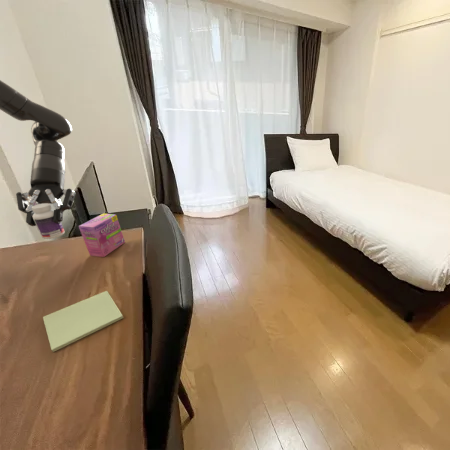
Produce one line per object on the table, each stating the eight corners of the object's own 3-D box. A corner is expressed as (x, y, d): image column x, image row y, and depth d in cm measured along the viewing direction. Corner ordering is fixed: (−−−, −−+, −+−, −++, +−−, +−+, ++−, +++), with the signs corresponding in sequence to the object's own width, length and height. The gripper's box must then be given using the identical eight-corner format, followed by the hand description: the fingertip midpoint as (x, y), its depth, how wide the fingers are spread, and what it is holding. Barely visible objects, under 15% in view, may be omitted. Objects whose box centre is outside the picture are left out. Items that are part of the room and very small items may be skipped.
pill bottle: (68, 233, 83) (56, 204, 79) (47, 241, 79) (32, 210, 75) (60, 229, 86) (47, 200, 81) (39, 236, 81) (24, 206, 77)
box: (104, 257, 94) (92, 227, 88) (89, 256, 94) (77, 225, 89) (126, 242, 103) (116, 214, 98) (112, 241, 104) (102, 213, 98)
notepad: (52, 352, 60) (51, 350, 59) (43, 319, 68) (42, 316, 68) (123, 318, 69) (122, 315, 68) (107, 292, 77) (106, 290, 77)
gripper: (10, 168, 78) (3, 222, 73) (69, 164, 82) (66, 216, 77) (28, 180, 85) (23, 231, 80) (82, 177, 89) (80, 225, 84)
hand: (44, 223), depth 79 cm, fingers closed on pill bottle, 5 cm apart
